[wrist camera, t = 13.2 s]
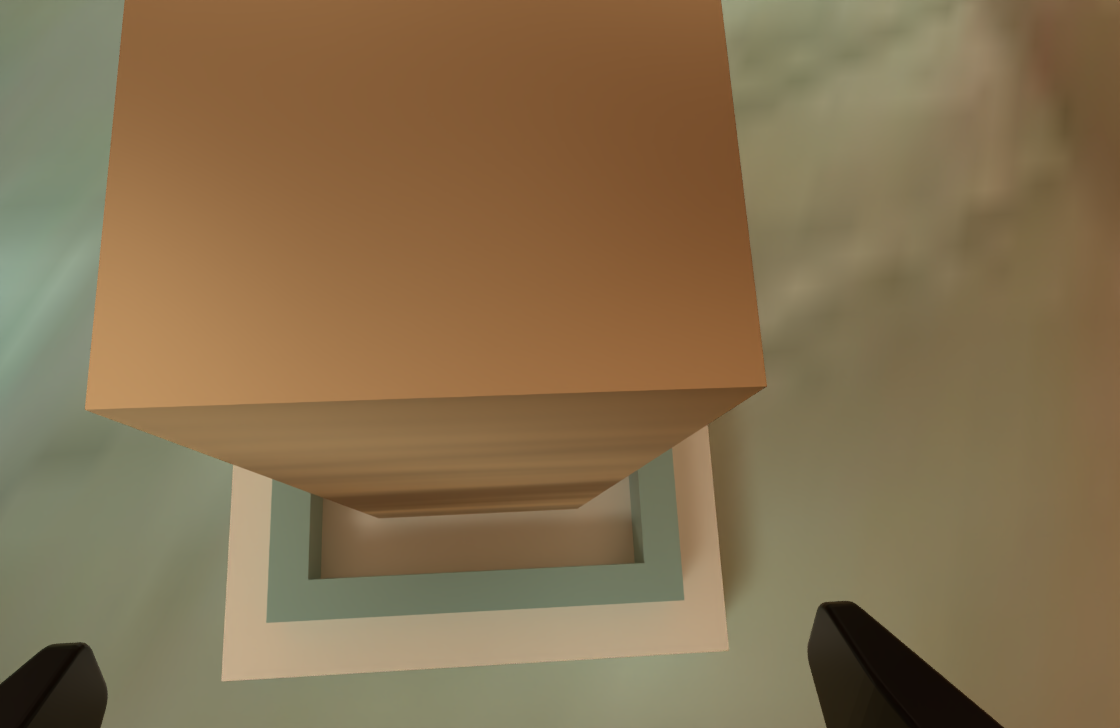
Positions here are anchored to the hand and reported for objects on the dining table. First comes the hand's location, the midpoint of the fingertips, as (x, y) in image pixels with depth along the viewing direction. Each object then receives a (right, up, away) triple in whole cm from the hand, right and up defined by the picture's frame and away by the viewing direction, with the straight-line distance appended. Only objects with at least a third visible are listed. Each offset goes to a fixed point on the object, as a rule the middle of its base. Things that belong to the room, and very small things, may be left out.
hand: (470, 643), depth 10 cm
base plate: (-1, +2, +10) cm, 11 cm away
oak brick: (-1, +2, +9) cm, 9 cm away
